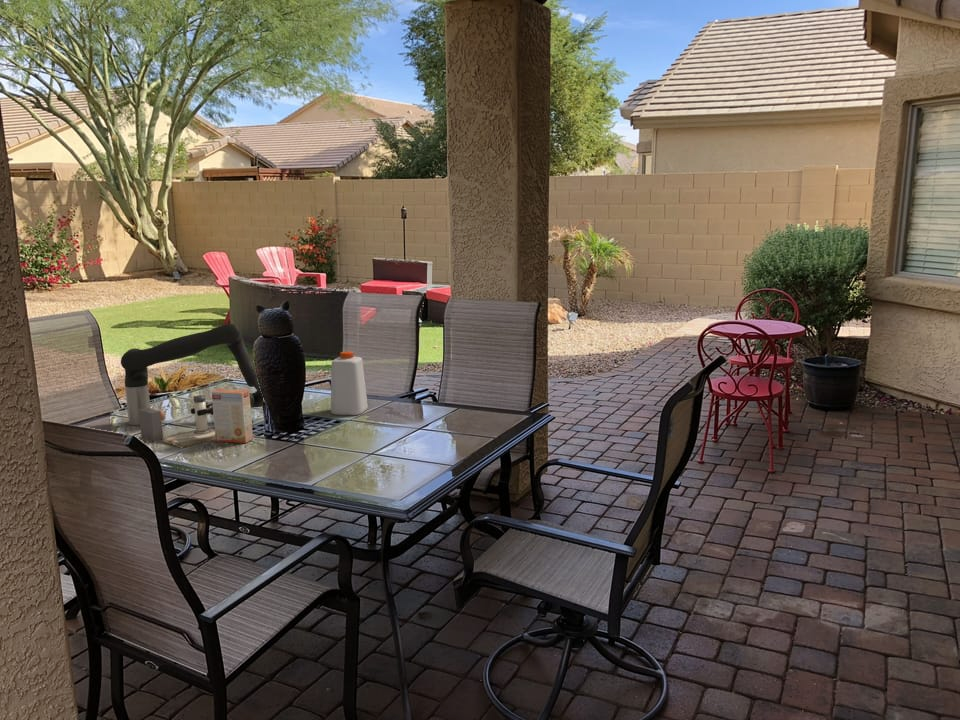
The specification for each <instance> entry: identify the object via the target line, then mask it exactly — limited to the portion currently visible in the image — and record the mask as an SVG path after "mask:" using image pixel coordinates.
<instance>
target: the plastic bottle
mask: <svg viewBox="0 0 960 720" xmlns="http://www.w3.org/2000/svg"><path fill="white" fill-rule="evenodd" d="M363 362H364V361H363V358H362V357H360V356H354V352H353V351H350V350H349V351H341V352H340V353H339V357H336V358H334V359H333V360H332V361H331V376H330V378H331V379H330V381H331V382H330V383H331V384H330V413H331V414H332V415H335V416H359V415H362V414H363V413H364V412H365V411H366V410H368V407H369V405H368V398H367V389H366V381H365V372H364V363H363Z"/></svg>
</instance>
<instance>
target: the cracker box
mask: <svg viewBox="0 0 960 720" xmlns="http://www.w3.org/2000/svg"><path fill="white" fill-rule="evenodd" d="M250 393H251V392H250V390H248V389H247V390H246V389H244V390H243V389H222V388H219V389H216V390H214V391H212V392H211V399H212V402H211V403H213V420H214V422H213V424H214V429H215V437H216V439H215V442H217V443H218V442H220V443H222V442H223V443H236V444H237V443H238V444H247V443H249V442H251V441H253V440H254V433H253V423H252V422H253V420H252V419H253V418H252V408H251V405H250Z"/></svg>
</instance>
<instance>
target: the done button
mask: <svg viewBox="0 0 960 720" xmlns="http://www.w3.org/2000/svg"><path fill="white" fill-rule="evenodd" d="M157 410H158V411H161V420H162V421H164V420H165V419H166V417H165V416H166V415H165V412H164V410H162V409H157Z"/></svg>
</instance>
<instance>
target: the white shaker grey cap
mask: <svg viewBox="0 0 960 720" xmlns="http://www.w3.org/2000/svg"><path fill="white" fill-rule="evenodd" d="M206 403H207V402H206V395H203V394H198V395H194V396H193V405H194V406H193V407H194V408H195V414H194V415H195V416H194V418H195V426H196V430H206V429H208V428H209V425H208V417H207V415H208V414H205V415H201V416H198V415H197V411H198V410H202V409H206Z"/></svg>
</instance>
